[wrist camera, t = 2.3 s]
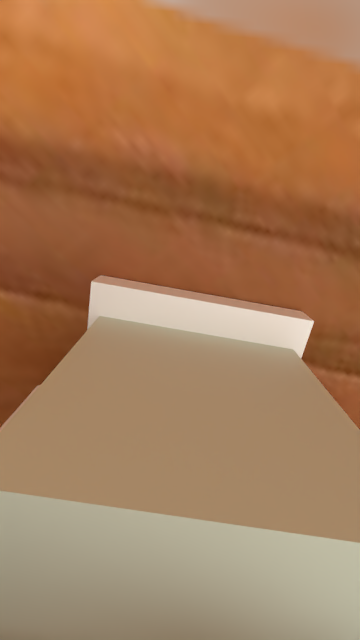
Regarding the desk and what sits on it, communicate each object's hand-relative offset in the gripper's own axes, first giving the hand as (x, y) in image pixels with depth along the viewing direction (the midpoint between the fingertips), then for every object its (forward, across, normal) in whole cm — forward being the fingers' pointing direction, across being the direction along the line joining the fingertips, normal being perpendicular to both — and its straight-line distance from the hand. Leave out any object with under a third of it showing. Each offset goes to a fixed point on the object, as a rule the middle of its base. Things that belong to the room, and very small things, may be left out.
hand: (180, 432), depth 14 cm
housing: (+1, 0, 0) cm, 1 cm away
